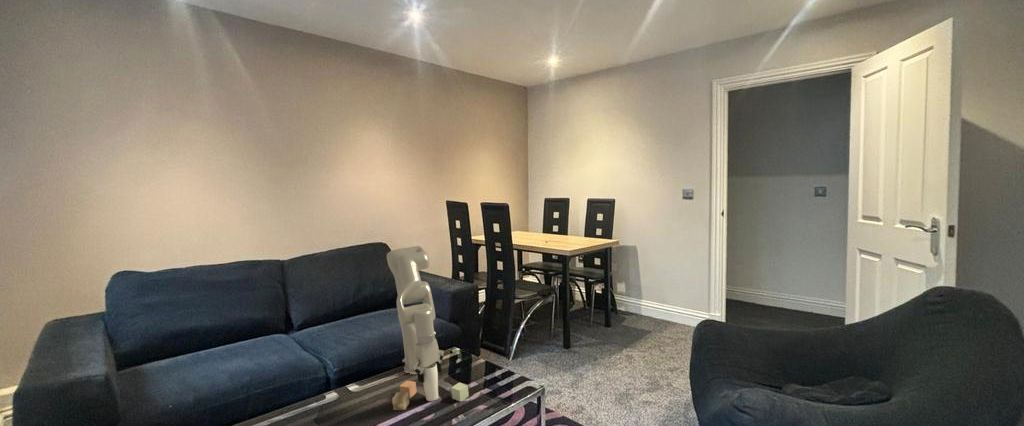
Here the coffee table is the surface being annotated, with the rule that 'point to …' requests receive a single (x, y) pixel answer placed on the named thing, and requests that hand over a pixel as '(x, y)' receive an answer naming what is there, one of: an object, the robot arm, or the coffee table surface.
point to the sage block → (459, 391)
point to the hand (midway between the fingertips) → (430, 376)
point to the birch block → (400, 401)
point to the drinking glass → (431, 382)
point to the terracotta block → (408, 388)
